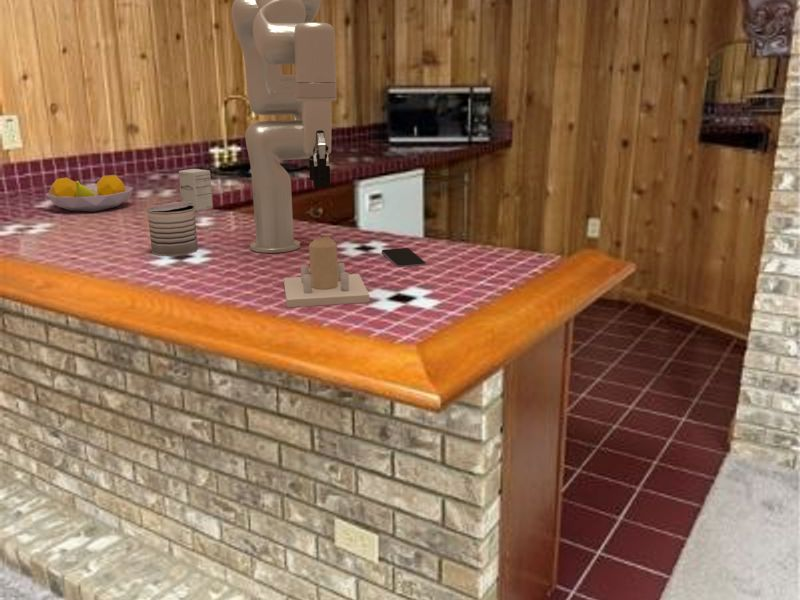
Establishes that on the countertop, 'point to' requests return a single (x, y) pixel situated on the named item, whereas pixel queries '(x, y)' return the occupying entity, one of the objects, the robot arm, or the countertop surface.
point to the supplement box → (196, 188)
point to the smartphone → (403, 257)
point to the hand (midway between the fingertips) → (319, 183)
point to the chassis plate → (325, 290)
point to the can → (173, 229)
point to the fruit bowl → (89, 194)
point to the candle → (323, 263)
